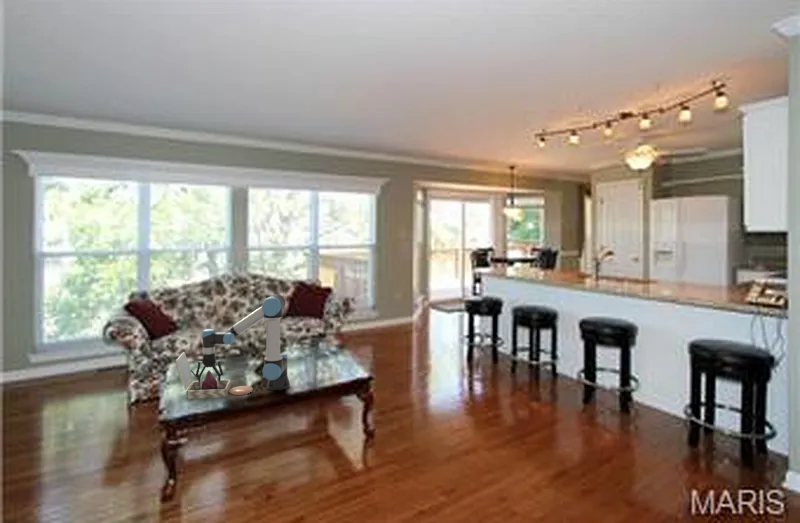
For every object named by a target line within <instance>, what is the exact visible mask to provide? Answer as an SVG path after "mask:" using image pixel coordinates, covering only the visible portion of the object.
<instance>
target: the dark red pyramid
mask: <svg viewBox="0 0 800 523" xmlns="http://www.w3.org/2000/svg"><path fill="white" fill-rule="evenodd" d="M206 372H207V373H206V374H205V375H206V376H205V378H204V379H203V381H204V382H203V384H202V389H201V390H213V389H219V388H218V387H217V381H216V380H217V378H216V377H215V376H214V375H213V373H212V372H211V371H210V369H208V370H207V371H206Z"/></svg>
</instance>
